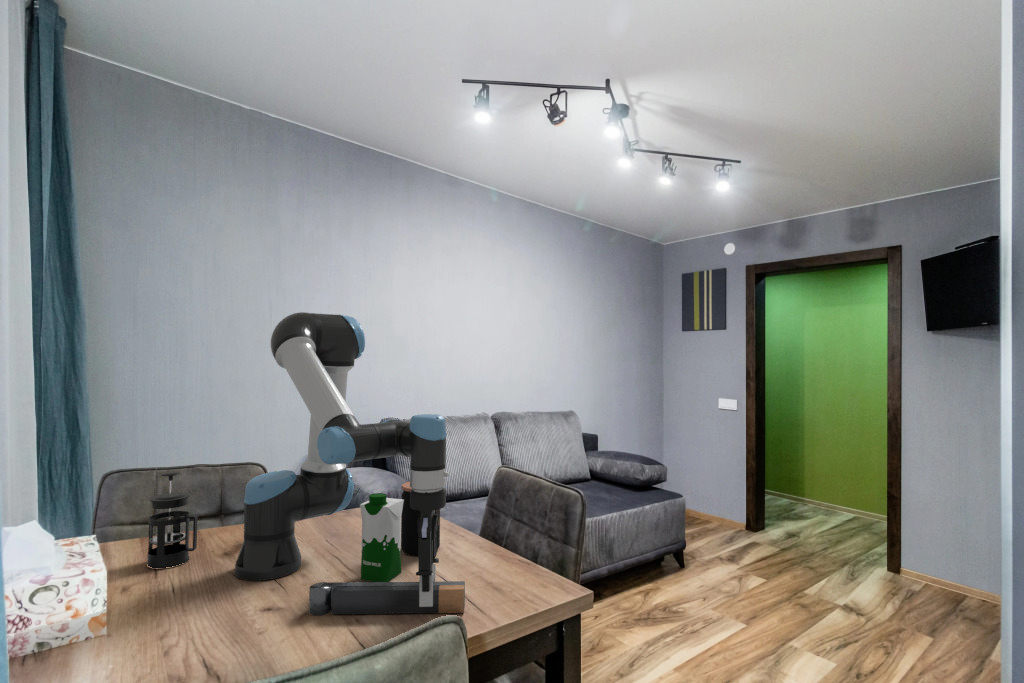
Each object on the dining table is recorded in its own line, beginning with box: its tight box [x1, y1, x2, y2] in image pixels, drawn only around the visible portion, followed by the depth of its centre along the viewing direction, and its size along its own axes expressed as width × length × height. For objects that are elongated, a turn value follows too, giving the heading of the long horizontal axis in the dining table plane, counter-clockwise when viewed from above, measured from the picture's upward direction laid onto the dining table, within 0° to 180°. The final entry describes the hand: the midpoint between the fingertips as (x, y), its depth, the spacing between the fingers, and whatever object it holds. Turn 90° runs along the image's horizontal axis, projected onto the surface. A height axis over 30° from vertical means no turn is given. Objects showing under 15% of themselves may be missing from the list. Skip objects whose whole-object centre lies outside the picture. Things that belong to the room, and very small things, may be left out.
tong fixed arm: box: [308, 580, 466, 617], centre depth 113 cm, size 32×4×5 cm, turn 92°
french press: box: [146, 471, 198, 568], centre depth 139 cm, size 12×9×23 cm
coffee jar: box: [401, 481, 441, 557], centre depth 149 cm, size 11×11×18 cm
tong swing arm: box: [331, 584, 466, 615], centre depth 112 cm, size 27×2×5 cm, turn 92°
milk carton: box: [359, 492, 404, 582], centre depth 131 cm, size 9×9×20 cm
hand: (427, 600), depth 113 cm, fingers open, 4 cm apart
